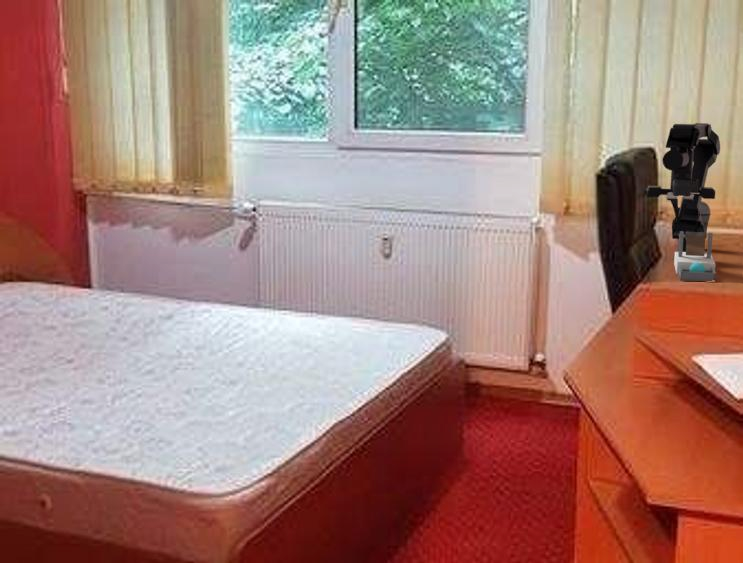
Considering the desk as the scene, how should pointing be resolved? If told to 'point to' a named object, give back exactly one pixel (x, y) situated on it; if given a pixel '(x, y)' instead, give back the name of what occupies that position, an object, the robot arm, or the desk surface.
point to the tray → (696, 275)
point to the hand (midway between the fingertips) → (678, 221)
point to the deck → (688, 260)
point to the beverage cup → (704, 214)
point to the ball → (697, 267)
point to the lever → (695, 243)
